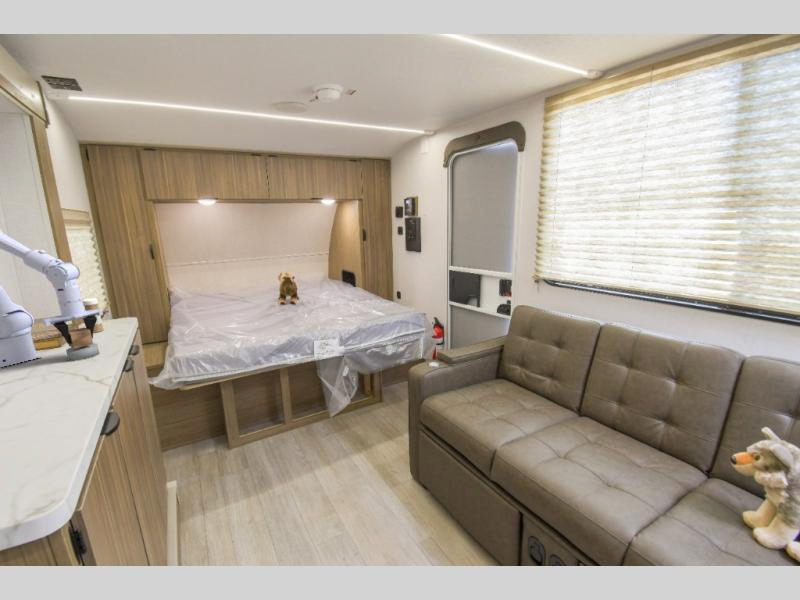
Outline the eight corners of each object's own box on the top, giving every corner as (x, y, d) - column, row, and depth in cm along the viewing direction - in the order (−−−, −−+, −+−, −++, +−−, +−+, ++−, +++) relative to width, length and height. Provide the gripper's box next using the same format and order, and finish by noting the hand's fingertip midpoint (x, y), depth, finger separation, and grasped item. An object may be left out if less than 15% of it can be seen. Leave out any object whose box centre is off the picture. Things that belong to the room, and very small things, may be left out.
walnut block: (74, 348, 118) (70, 334, 117) (69, 345, 120) (65, 331, 119) (93, 343, 122) (89, 329, 121) (87, 341, 124) (84, 327, 123)
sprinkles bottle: (87, 332, 147) (79, 300, 144) (99, 329, 151) (92, 297, 148) (94, 333, 145) (86, 301, 142) (106, 330, 149) (99, 298, 146)
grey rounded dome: (73, 362, 117) (70, 353, 116) (64, 357, 121) (62, 349, 120) (103, 354, 123) (101, 345, 122) (94, 349, 127) (92, 341, 127)
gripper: (44, 307, 109) (55, 350, 113) (102, 297, 121) (111, 336, 124) (37, 304, 113) (48, 345, 116) (94, 295, 125) (103, 333, 128)
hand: (80, 340), depth 121 cm, fingers closed on walnut block, 5 cm apart
